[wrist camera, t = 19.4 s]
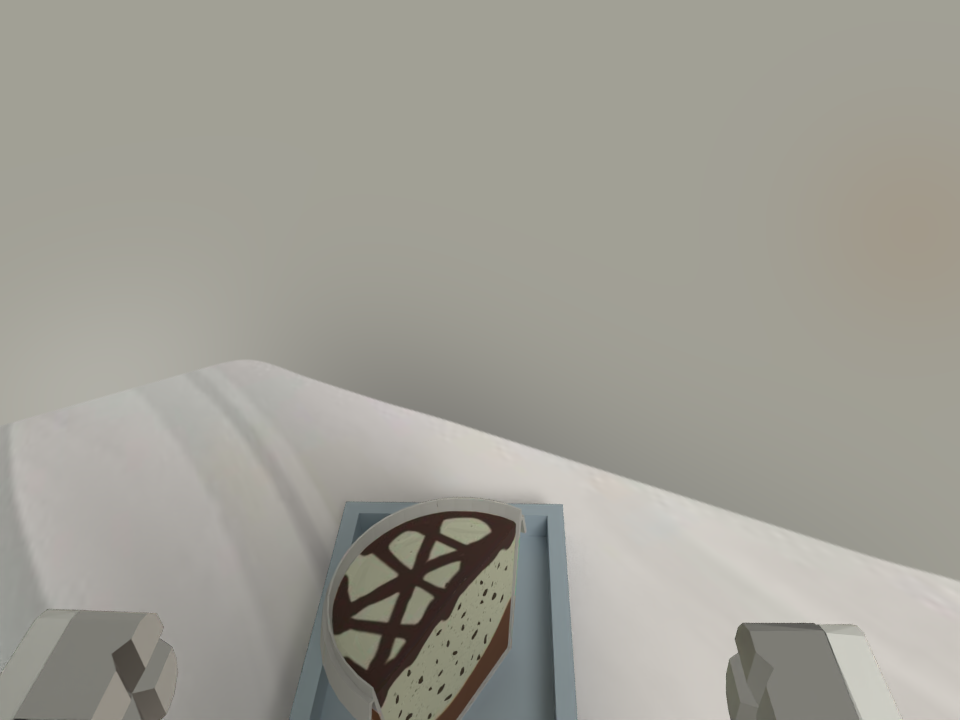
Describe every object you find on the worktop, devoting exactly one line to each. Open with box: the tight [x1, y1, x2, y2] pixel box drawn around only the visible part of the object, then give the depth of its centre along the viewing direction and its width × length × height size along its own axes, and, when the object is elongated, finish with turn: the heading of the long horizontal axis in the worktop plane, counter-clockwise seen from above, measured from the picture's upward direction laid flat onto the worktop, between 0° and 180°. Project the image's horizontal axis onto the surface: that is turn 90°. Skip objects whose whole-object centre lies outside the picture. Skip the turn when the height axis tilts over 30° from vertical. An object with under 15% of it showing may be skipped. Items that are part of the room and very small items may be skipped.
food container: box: [320, 497, 527, 720], centre depth 37 cm, size 12×6×10 cm, turn 147°
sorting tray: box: [289, 502, 577, 720], centre depth 41 cm, size 14×20×2 cm
